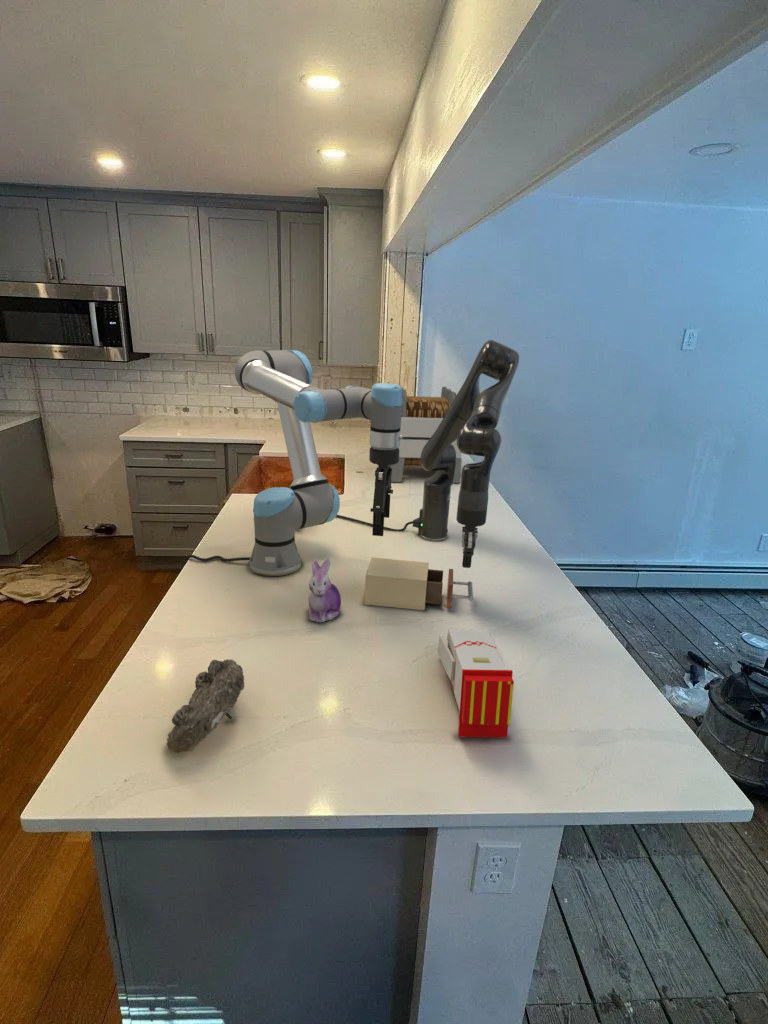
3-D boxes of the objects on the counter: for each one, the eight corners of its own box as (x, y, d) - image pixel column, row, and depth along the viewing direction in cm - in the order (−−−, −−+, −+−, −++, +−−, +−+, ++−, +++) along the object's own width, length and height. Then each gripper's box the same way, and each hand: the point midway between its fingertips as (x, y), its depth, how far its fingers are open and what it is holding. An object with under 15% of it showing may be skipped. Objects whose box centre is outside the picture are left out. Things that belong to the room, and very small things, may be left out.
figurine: (314, 627, 139) (314, 572, 134) (300, 608, 148) (299, 555, 143) (349, 619, 143) (350, 565, 138) (333, 601, 152) (334, 550, 147)
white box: (382, 463, 289) (386, 382, 275) (445, 464, 293) (451, 384, 279) (390, 482, 257) (394, 392, 243) (460, 483, 261) (468, 394, 247)
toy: (488, 613, 130) (523, 677, 101) (484, 667, 133) (517, 744, 104) (435, 612, 130) (455, 676, 101) (432, 666, 133) (451, 743, 103)
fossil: (192, 660, 117) (244, 628, 112) (224, 691, 120) (276, 661, 115) (142, 746, 98) (202, 712, 93) (182, 779, 101) (242, 748, 96)
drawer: (471, 592, 158) (473, 570, 156) (472, 610, 149) (474, 587, 147) (398, 586, 160) (399, 564, 158) (395, 603, 151) (396, 580, 149)
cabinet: (426, 590, 160) (428, 562, 157) (424, 610, 150) (426, 580, 147) (370, 585, 162) (371, 557, 159) (364, 604, 151) (365, 574, 148)
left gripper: (394, 460, 130) (390, 545, 137) (403, 437, 153) (399, 511, 161) (362, 458, 131) (359, 542, 138) (376, 435, 154) (373, 509, 161)
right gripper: (488, 514, 138) (481, 578, 144) (486, 498, 150) (479, 557, 156) (457, 512, 139) (451, 576, 144) (457, 495, 151) (452, 555, 157)
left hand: (381, 525), depth 149 cm, fingers open, 13 cm apart
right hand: (466, 566), depth 150 cm, fingers closed
